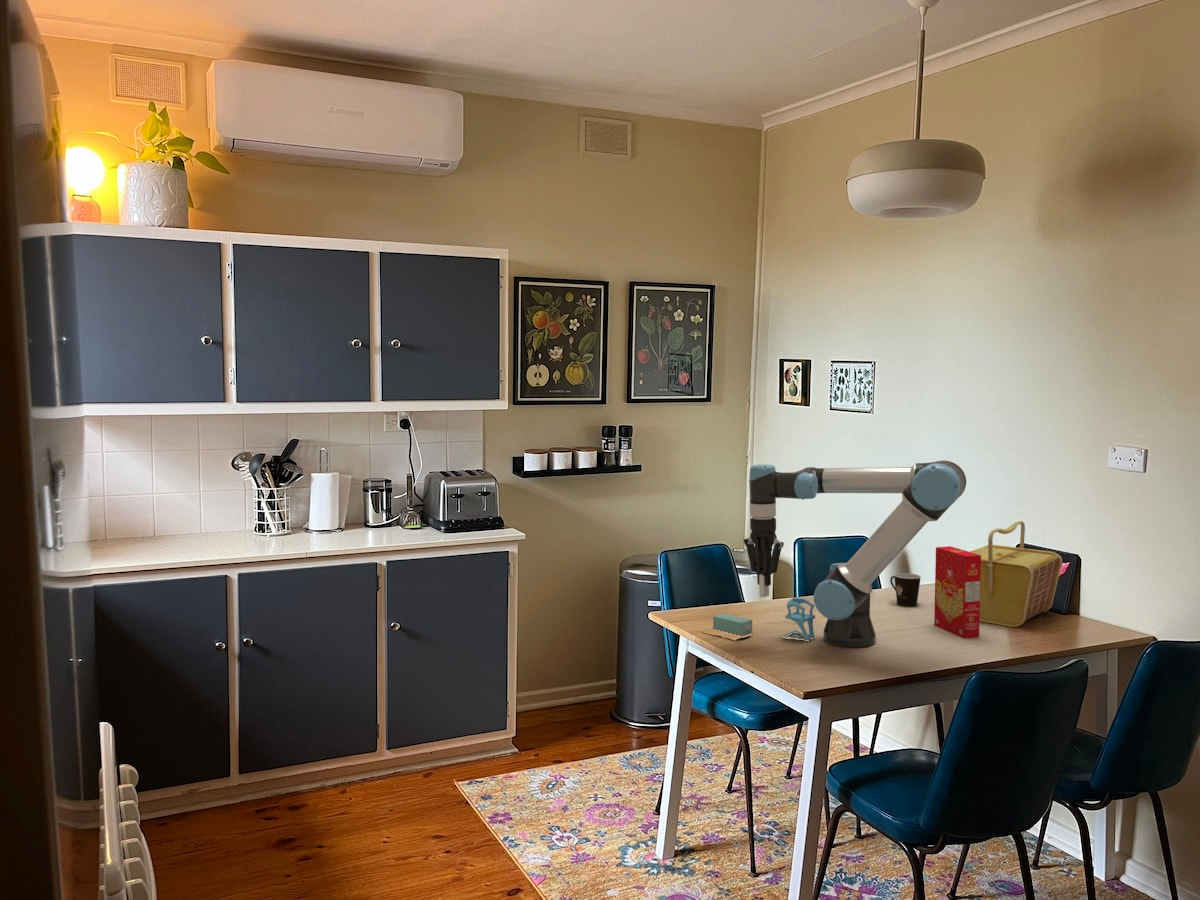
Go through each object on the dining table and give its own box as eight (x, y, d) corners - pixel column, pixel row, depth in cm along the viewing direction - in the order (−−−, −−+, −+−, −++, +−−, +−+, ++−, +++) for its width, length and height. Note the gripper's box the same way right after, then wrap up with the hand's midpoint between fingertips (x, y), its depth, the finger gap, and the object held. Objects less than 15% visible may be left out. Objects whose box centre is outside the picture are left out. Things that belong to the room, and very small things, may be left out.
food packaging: (934, 625, 289) (935, 547, 286) (948, 624, 290) (950, 546, 288) (963, 638, 274) (965, 556, 272) (979, 637, 276) (981, 555, 274)
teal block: (752, 619, 278) (723, 613, 286) (742, 623, 274) (713, 616, 282) (752, 635, 278) (723, 628, 286) (742, 639, 275) (713, 632, 283)
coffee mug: (923, 607, 310) (924, 578, 309) (898, 607, 310) (898, 578, 309) (912, 599, 322) (913, 571, 321) (887, 599, 322) (888, 571, 321)
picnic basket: (982, 600, 318) (985, 515, 316) (1062, 613, 301) (1065, 523, 298) (947, 617, 298) (949, 526, 295) (1030, 632, 280) (1032, 535, 277)
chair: (805, 644, 271) (805, 604, 270) (781, 638, 276) (781, 599, 275) (818, 638, 276) (819, 599, 275) (794, 633, 282) (795, 594, 281)
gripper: (789, 517, 268) (790, 596, 269) (752, 513, 277) (753, 590, 279) (774, 520, 262) (775, 601, 264) (737, 517, 271) (738, 595, 273)
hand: (764, 596), depth 271 cm, fingers closed
